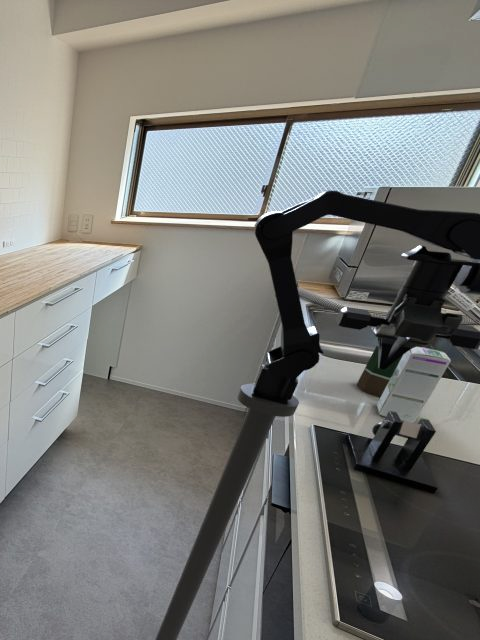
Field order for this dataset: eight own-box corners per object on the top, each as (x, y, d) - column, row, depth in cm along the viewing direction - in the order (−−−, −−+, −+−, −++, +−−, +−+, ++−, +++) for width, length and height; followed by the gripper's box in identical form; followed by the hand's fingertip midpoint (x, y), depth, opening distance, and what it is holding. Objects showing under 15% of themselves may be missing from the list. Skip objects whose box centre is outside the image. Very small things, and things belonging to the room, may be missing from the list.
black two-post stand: (345, 437, 79) (366, 397, 75) (415, 457, 74) (442, 415, 70) (353, 469, 70) (378, 425, 66) (434, 493, 65) (466, 448, 61)
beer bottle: (355, 380, 103) (404, 285, 93) (396, 390, 99) (454, 292, 88) (356, 391, 98) (409, 291, 87) (400, 402, 94) (461, 298, 83)
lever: (367, 436, 79) (372, 420, 79) (389, 442, 78) (394, 426, 77) (393, 435, 69) (400, 417, 69) (419, 441, 67) (426, 423, 67)
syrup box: (414, 424, 85) (454, 360, 78) (376, 414, 88) (412, 352, 81) (409, 413, 89) (447, 351, 82) (374, 404, 92) (407, 344, 85)
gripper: (363, 287, 71) (324, 369, 78) (523, 308, 62) (463, 399, 69) (354, 277, 79) (319, 352, 86) (494, 294, 70) (443, 376, 77)
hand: (381, 368), depth 79 cm, fingers closed
